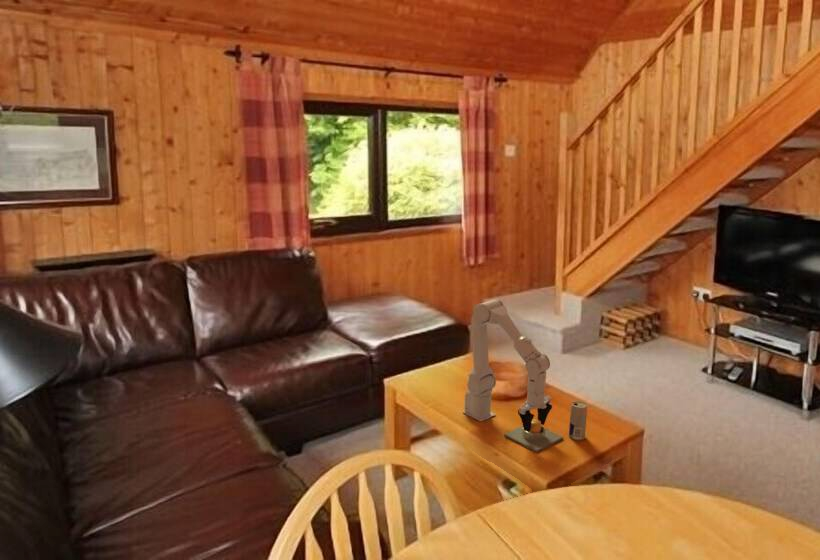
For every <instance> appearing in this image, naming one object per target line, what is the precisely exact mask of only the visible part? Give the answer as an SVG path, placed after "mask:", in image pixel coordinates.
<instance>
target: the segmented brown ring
mask: <svg viewBox="0 0 820 560" xmlns="http://www.w3.org/2000/svg"><path fill="white" fill-rule="evenodd" d="M545 429H546V428H545V427H544V425H541V432H540V433H531V432H527V431H525V430H524V428H523V430H522V435H523V437H524V438H526V439H528V440H531V441H541V440H543V439H544V438H545Z"/></svg>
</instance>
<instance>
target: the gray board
mask: <svg viewBox="0 0 820 560" xmlns="http://www.w3.org/2000/svg"><path fill="white" fill-rule="evenodd" d="M522 430H523V425H519V426H518V427H515V428H514V429H513V430H510V431H508V432H506V433H503V436H504V437H505V438H507V439H509V440H511V441H513V442H515V443H517V444H519V445H520V446H522V445H523V446H522V447H524V446H525V448H526V449H528V450H530V451H532V452H534V453H539V452H541V451H543V450H545V449H546V448H548V447H551V446H552V445H555V444H556V443H558V442H560V441H562V440H564V436H562V435H560V434H558V433H555V432H553V431H552V430H549V429H547V428H545V438H544V439H543V440H541V441H531V440H528V439H526V438H524V437H523V435H522Z"/></svg>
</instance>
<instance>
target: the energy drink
mask: <svg viewBox="0 0 820 560" xmlns="http://www.w3.org/2000/svg"><path fill="white" fill-rule="evenodd" d="M569 413H570V416H569V430H568V436H569V438H570V439H571V440H574V441H582V440H584V439H586V432H587V431H586V430H587V418H588V404H587V403H585V402H583V401H573V402H571V405H570V412H569Z"/></svg>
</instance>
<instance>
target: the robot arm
mask: <svg viewBox="0 0 820 560" xmlns="http://www.w3.org/2000/svg"><path fill="white" fill-rule="evenodd" d="M472 313H473V314H472V316H471V319H470V323H471V326H470V327H471V342H472V345H471V346H472V358H473V359H472V360H473V361H472V362H473V368H472V369H471V371H470V373H468V380H467V384H466V385H467V389H468V390H467V391H466V392H465V395H464V410H463V411H462V413H463V414H465V415H467V416H469V417H470V418H473V419H475V420H477V421H478V422H483V421H486V420H488V419H490V418H493V417H495V416H496V413H494V412H493V411H491V410H492V409H491V407H492V392H493V388H495V387H496V386H497V380H496V377H495V375H494V370H493V369H492V368H491V367H490V364H489V363H490V359H489V341H488V340H489V339H488V325H489V324H493V325H498V326H499V327H500V328H501V329H502V330H503V332H505V334H506V335H507V336H508V337H509V338H510V339H511V341H513V348H514V350H516V352H517V354H518V355H519V356H520V357H521V359H522V361H524V362H525V365H524V366H525V370H526V372H527V377H528V379H527V393H526V394H527V396H526V400H525V402H523V404H522V405H521V406H519V408H518V410H517V414H518V416H519V417H520V420H521V423H522V426H523V428H524V430H525V431H527V432H530V429H531V423H532V419H534V417H535V414H533V413H532V412H531V411H532V410H537V411H536V412H537V420H539V421H541V426H544V425H545V423H546V421H547V418H548V415H549V413H550V411H552V409H553V405H552V404H551V403H552V397H551V396H549V395H546V384H547V383H546V379H547V370H549V368H550V367H551V361H550V358H549V357H548V355H546V354H545V353H542V352H541V351H539V350H538V349H537V348H536V346H535V344H533V343H532V342H533V341H532V340H531V339H530V338H529V337H528V336H524V335H522V333H521V332H520V330H519V329H518V327H517V326H516V325H515V323H514V322H513V320H512V318H511V317H510V316H509V313H508V308H507V307H506V305H505V304H504V302H503V301H502V300H501V299H499V298H494V299H492V300H488V301H485V302H480V303H477V305H475V306H474V307H472Z"/></svg>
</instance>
